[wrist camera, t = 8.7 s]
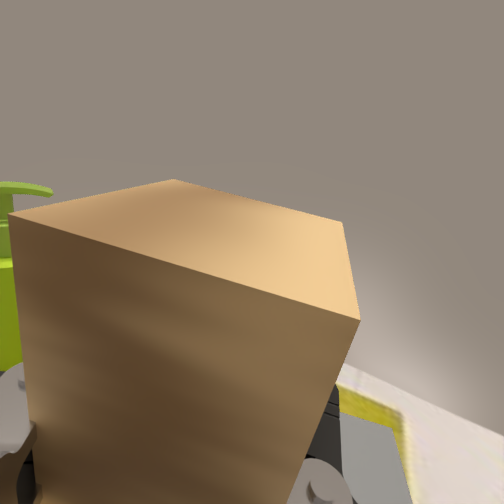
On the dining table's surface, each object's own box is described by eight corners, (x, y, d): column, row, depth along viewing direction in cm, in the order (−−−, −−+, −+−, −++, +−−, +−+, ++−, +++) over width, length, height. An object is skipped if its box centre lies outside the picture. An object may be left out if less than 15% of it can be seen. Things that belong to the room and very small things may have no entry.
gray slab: (375, 457, 28) (391, 428, 27) (402, 590, 20) (427, 558, 18) (282, 427, 29) (293, 397, 27) (270, 541, 21) (284, 508, 19)
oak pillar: (252, 492, 13) (342, 222, 8) (209, 692, 8) (360, 320, 4) (145, 448, 13) (173, 179, 9) (49, 608, 9) (6, 213, 4)
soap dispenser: (63, 364, 35) (56, 194, 27) (-18, 385, 30) (-51, 191, 23) (56, 333, 39) (48, 178, 31) (-16, 348, 34) (-44, 173, 27)
